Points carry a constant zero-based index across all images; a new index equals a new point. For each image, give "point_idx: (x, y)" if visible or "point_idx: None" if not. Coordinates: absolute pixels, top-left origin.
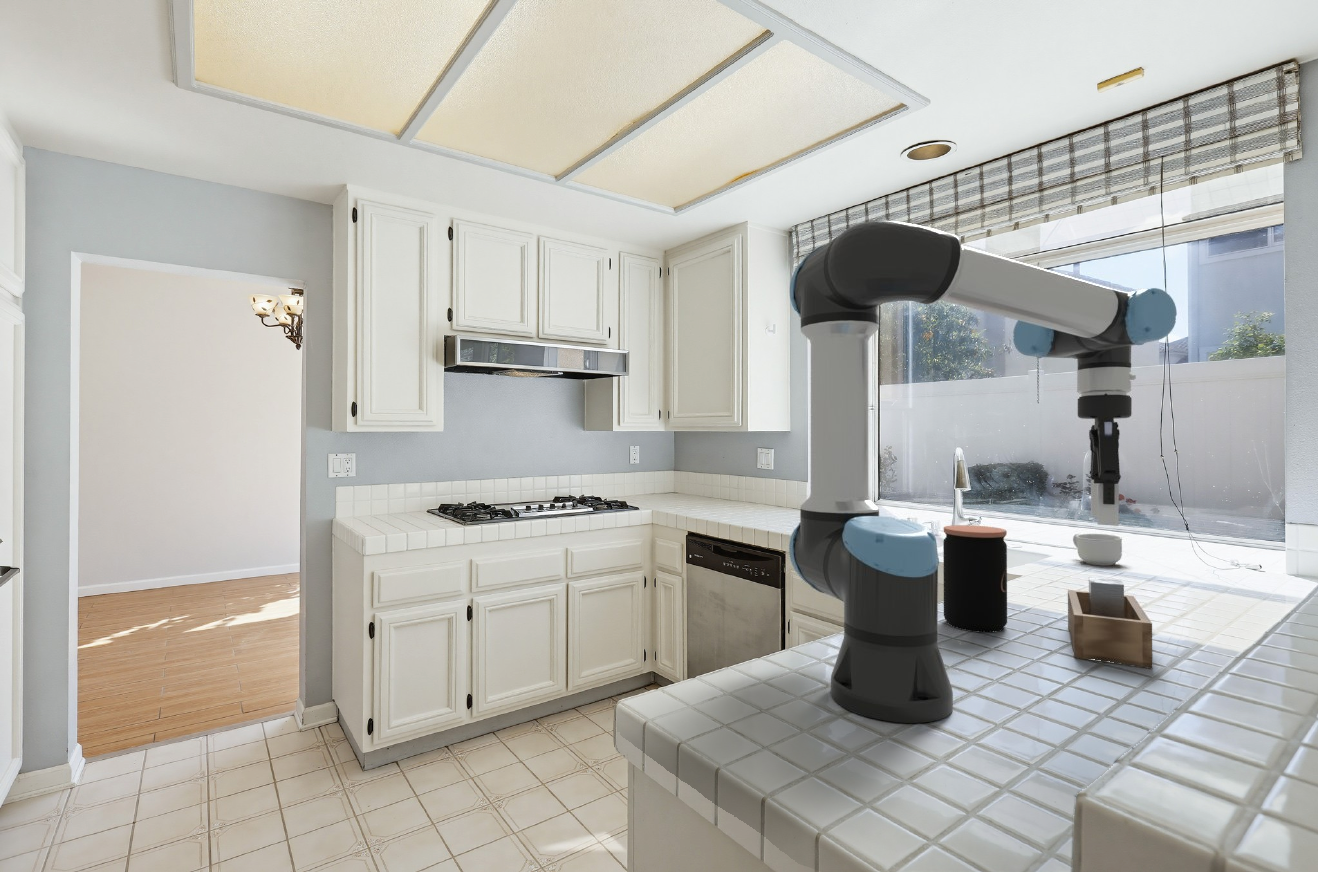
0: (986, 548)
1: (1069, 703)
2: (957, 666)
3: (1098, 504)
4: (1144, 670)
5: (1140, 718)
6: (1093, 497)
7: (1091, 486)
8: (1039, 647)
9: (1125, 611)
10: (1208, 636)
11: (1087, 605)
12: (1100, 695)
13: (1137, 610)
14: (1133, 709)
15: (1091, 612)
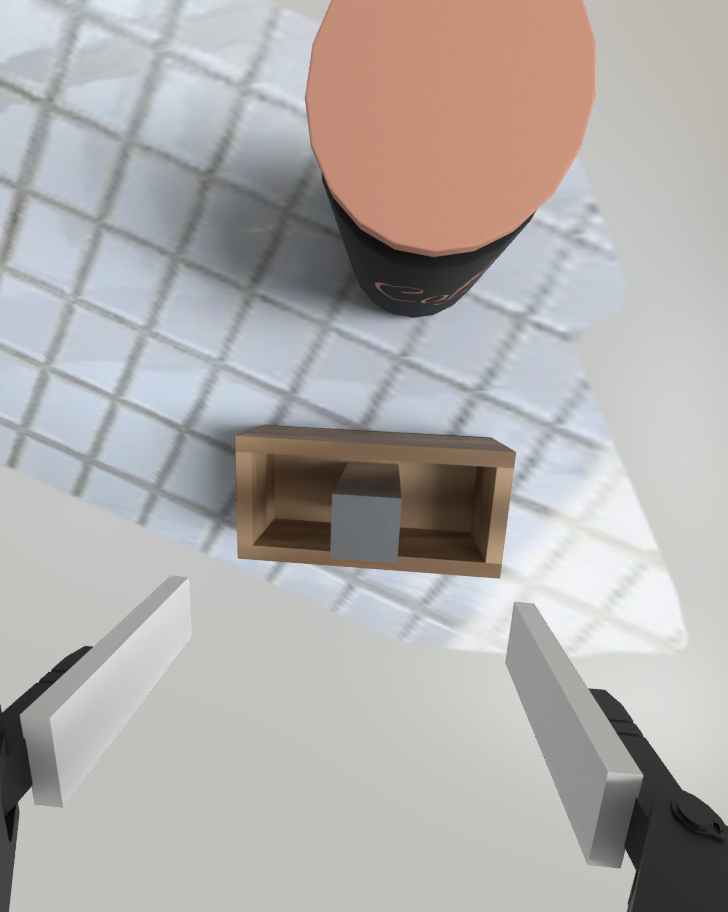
0: (329, 196)
1: (40, 395)
2: (109, 235)
3: (114, 628)
4: None
5: (38, 470)
6: (550, 679)
7: (585, 729)
8: (303, 374)
9: (477, 546)
10: None
11: (487, 482)
12: (97, 438)
13: None
14: (66, 468)
15: (342, 475)
